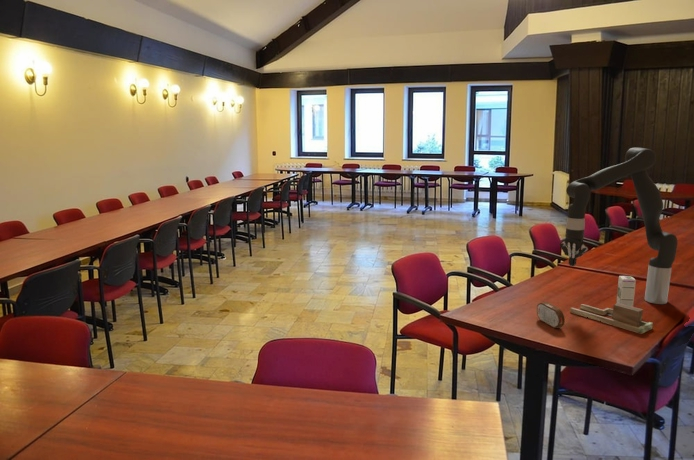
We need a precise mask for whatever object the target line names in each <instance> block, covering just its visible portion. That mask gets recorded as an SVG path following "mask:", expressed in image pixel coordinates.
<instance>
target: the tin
mask: <svg viewBox="0 0 694 460" xmlns="http://www.w3.org/2000/svg"><path fill="white" fill-rule="evenodd" d="M536 315H537V317H538V318H539V320H540V321H541V322H543V323H544V324H546V325H548V326H549V327H551V328H553V329H561V328H563V327H564V325H565V321H566V320H565V314H564V313H563V311H562V310H561V309H560V308H559V307H557V306H555V305H553V304H552V303H549V302H548V301H543V302H539V303H538V304H537V306H536Z"/></svg>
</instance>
